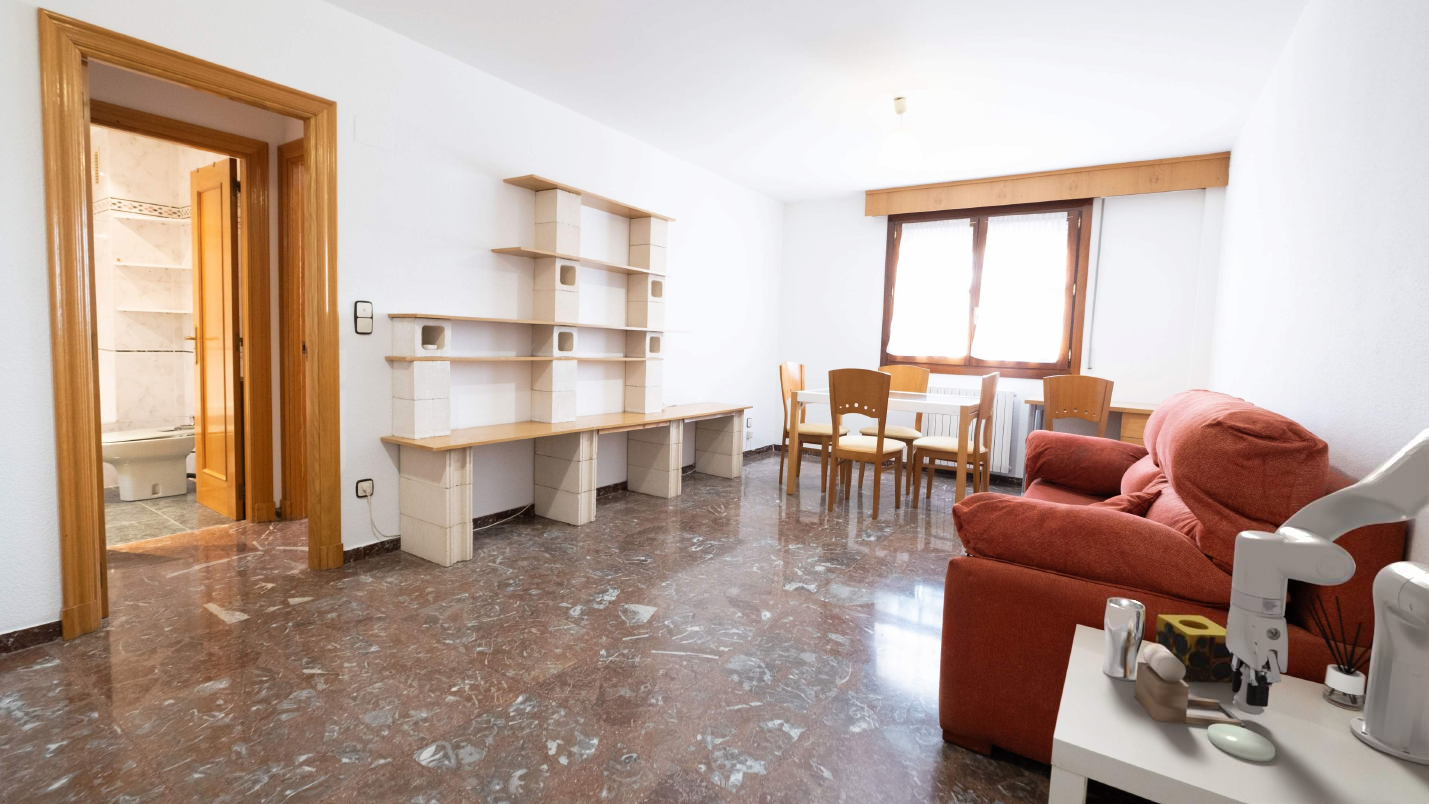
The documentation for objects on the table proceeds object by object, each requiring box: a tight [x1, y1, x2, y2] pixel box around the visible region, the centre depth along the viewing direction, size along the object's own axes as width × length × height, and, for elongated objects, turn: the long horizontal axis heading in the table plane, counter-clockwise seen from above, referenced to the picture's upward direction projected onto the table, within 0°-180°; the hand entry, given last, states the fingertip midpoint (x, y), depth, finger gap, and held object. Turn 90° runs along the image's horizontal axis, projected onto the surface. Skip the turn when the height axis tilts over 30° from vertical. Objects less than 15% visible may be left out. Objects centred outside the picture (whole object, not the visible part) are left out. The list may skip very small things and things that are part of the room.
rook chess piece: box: [1232, 664, 1265, 716], centre depth 119 cm, size 4×4×8 cm
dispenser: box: [1134, 643, 1247, 729], centre depth 121 cm, size 15×8×11 cm, turn 80°
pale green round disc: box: [1206, 724, 1276, 763], centre depth 112 cm, size 9×9×1 cm
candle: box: [1155, 614, 1235, 684], centre depth 137 cm, size 10×10×10 cm
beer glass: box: [1102, 596, 1146, 682], centre depth 135 cm, size 7×7×15 cm
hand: (1249, 697), depth 120 cm, fingers closed on rook chess piece, 3 cm apart
